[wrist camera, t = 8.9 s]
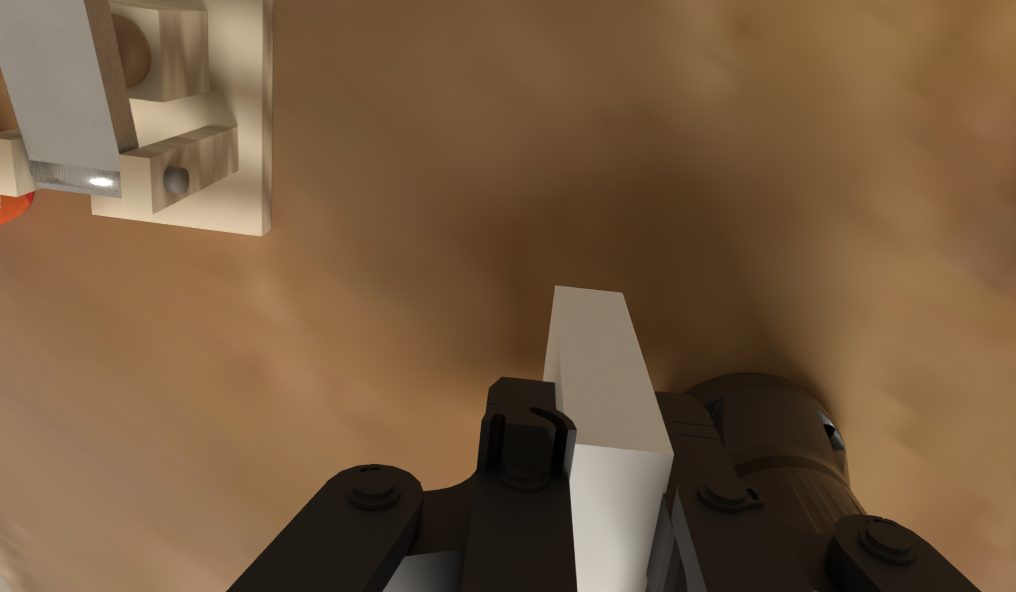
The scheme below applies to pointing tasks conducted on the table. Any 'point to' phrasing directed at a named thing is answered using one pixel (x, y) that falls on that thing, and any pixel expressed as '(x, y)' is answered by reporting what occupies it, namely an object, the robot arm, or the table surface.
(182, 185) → the press base
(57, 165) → the lever
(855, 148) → the table surface
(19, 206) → the paper cup
